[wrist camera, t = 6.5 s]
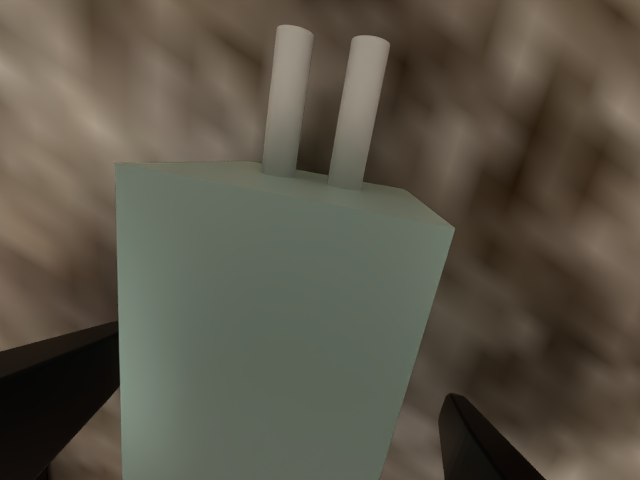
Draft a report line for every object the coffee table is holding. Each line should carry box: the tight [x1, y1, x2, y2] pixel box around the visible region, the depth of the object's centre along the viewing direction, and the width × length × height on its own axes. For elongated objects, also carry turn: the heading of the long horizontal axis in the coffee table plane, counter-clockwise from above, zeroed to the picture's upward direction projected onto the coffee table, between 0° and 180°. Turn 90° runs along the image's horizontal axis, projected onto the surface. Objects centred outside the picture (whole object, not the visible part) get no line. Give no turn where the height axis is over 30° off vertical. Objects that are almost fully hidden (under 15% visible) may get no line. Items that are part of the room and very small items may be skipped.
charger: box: [115, 25, 455, 480], centre depth 7 cm, size 10×4×5 cm, turn 170°
